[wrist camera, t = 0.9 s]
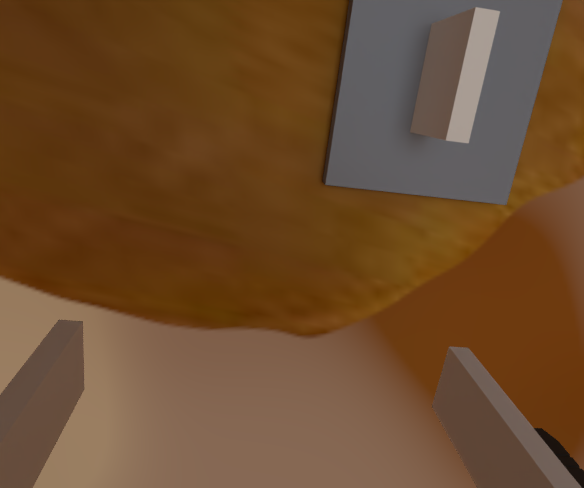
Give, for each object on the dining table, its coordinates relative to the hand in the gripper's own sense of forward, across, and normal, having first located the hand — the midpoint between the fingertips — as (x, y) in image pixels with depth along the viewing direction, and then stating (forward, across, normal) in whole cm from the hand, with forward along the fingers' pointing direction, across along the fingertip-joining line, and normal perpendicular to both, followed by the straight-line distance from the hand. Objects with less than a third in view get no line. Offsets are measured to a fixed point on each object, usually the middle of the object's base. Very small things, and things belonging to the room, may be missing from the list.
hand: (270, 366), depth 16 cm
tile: (+23, +12, +11) cm, 28 cm away
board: (+24, +13, +11) cm, 30 cm away
